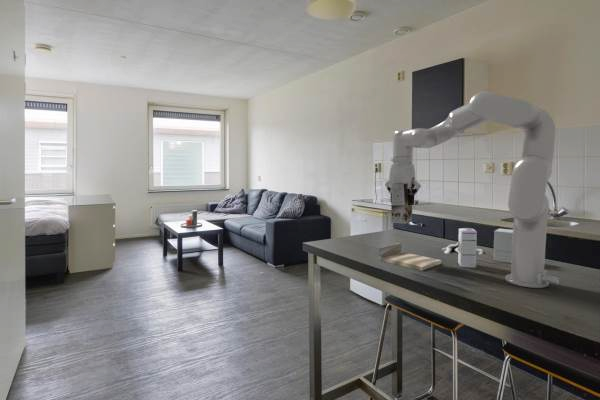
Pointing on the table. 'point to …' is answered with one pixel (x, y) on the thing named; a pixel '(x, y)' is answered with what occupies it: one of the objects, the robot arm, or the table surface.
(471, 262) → the syrup box
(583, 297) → the table surface
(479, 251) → the cloth
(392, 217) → the coffee box
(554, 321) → the table surface
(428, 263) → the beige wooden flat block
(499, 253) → the supplement box
